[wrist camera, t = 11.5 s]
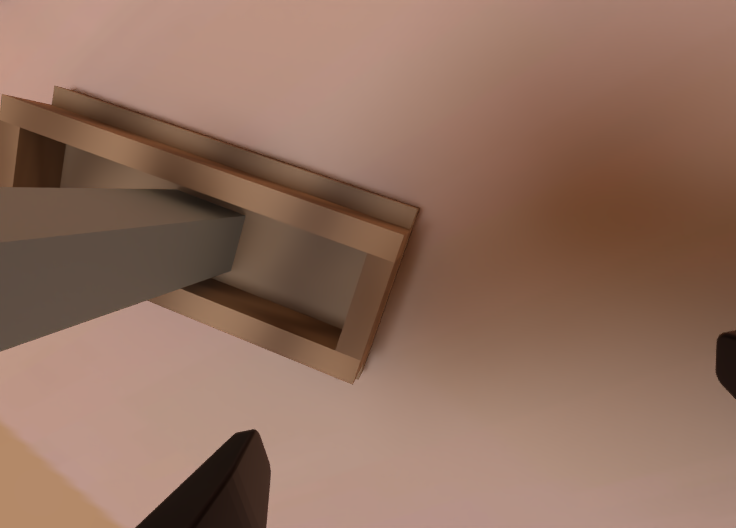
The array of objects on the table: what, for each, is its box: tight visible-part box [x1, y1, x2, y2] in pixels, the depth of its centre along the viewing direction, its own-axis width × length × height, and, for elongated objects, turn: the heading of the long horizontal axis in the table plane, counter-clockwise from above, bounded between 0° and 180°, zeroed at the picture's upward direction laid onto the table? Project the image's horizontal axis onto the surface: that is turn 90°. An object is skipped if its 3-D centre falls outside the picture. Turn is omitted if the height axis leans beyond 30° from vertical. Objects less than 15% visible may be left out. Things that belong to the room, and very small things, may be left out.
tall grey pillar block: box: [0, 187, 245, 351], centre depth 15 cm, size 4×3×12 cm
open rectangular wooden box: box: [0, 86, 419, 385], centre depth 21 cm, size 20×9×4 cm, turn 72°
